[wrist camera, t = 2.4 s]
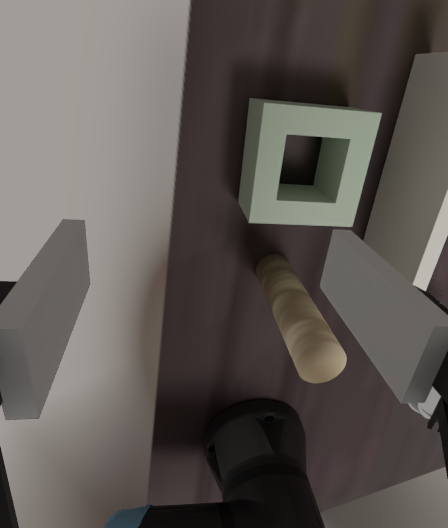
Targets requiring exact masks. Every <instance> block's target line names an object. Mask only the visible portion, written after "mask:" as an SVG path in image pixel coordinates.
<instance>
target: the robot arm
mask: <svg viewBox="0 0 448 528" xmlns="http://www.w3.org/2000/svg"><path fill="white" fill-rule="evenodd" d="M89 285H90V277H89V265H88V254H87V242H86V230H85V221H84V220H65V219H63V220H62V221H61V223H60V224H59V226H58V227H57V228H56V230H55V231H54V232H53V234H52V235H51V237H50V238H49V239H48V241H47V242H46V243H45V245H44V246H43V248H42V249H41V250H40V252H39V253H38V254H37V256H36V257H35V258H34V260H33V261H32V262H31V264H30V265H29V267H28V268H27V269H26V271H25V272H24V273H23V275H22V276H21V277H20V279H19V280H18V282H8V281H0V405H1V404H2V407H3V412H4V415H5V419H6V420H17V419H39V417H40V414H41V411H42V409H43V406H44V404H45V401H46V398H47V396H48V393H49V391H50V388H51V385H52V382H53V380H54V377H55V375H56V372H57V369H58V367H59V364H60V362H61V359H62V356H63V354H64V351H65V349H66V346H67V343H68V341H69V338H70V335H71V332H72V330H73V327H74V325H75V322H76V320H77V317H78V314H79V312H80V309H81V306H82V304H83V301H84V299H85V296H86V293H87V291H88V288H89ZM320 288H321V289H322V291H323V292H324V294H325V295H326V297H327V298H328V299H329V301H330V302H331V304H332V305H333V307H334V308H335V309H336V311H337V312H338V314H339V315H340V317H341V318H342V319H343V321H344V322H345V324H346V325H347V327H348V328H349V329H350V331H351V332H352V334H353V335H354V337H355V338H356V339H357V341H358V342H359V344H360V345H361V347H362V348H363V350H364V351H365V352H366V354H367V355H368V357H369V358H370V360H371V361H372V362H373V364H374V365H375V367H376V368H377V370H378V371H379V372H380V374H381V375H382V377H383V378H384V380H385V381H386V382H387V384H388V385H389V387H390V388H391V390H392V391H393V392H394V394H395V395H396V397H397V398H398V400H399V401H400V402H401V404H402V403H425V401H426V399H427V397H428V395H429V393H430V391H431V389H432V386H433V388H434V389H435V390H436V391H437V392H438V394H439V395H440V396H441V397H440V399H439V401H438V403H437V405H436V407H435V410H434V412H433V414H432V416H431V418H430V420H429V422H428V426H427V428H429V429H432V427H433V425H434V423H436V422H439V429H438V431H437V432H440V435H441V441H442V447H443V453H444V459H445V465H446V471H447V477H448V309H447V308H446V307H445V306H443V305H442V304H439V301H437V300H436V299H435V298H434V297H433V296H432V295H430V294H429V293H427V292H426V291H424V290H422V289H420V288H418V287H416V286H414V285H413V284H411V283H410V282H409V281H408V280H407V279H406V278H405V277H403V276H402V275H401V274H400V273H399V272H398V271H397V270H395V269H394V268H393V267H392V266H391V265H390V264H389V263H387V262H386V261H385V260H384V259H383V258H382V257H381V256H379V255H378V254H377V253H376V252H375V251H374V250H373V249H371V248H370V247H369V246H368V245H367V244H366V243H365V242H363V241H362V240H361V239H360V238H359V237H358V236H357V235H355V234H354V233H353V232H352V231H351V230H333V233H332V237H331V241H330V245H329V250H328V254H327V258H326V262H325V266H324V271H323V275H322V279H321V283H320ZM204 448H205V457H206V460H207V463H208V465H209V467H210V469H211V471H212V474H213V476H214V478H215V480H216V482H217V484H218V487H219V489H220V491H221V493H222V498H223V502H220V503H200V504H183V505H164V506H153V505H146V506H145V507H138V508H130V509H122V510H119V511H117V512H115V513H114V514H113V515H112V516H111V517H110V518H109V519H108V520H107V522H106V524H105V526H104V528H325V526H324V523H323V520H322V518H321V515H320V512H319V509H318V506H317V503H316V500H315V497H314V495H313V492H312V489H311V486H310V483H309V480H308V477H307V474H306V436H305V431H304V428H303V426H302V423H301V420H300V418H299V416H298V414H297V413H296V412H295V411H294V410H293V409H292V408H291V407H289V406H287V405H285V404H283V403H280V402H277V401H271V400H253V401H248V402H243V403H240V404H237V405H234V406H232V407H230V408H228V409H226V410H225V411H223V412H222V413H220V414H219V415H218V416H217V417H215V418H214V419H213V421H212V422H211V423H210V424H209V426H208V428H207V429H206V432H205V435H204ZM0 528H19V526H18V522H17V517H16V514H15V509H14V504H13V500H12V496H11V491H10V487H9V482H8V478H7V474H6V470H5V465H4V460H3V456H2V452H1V447H0Z"/></svg>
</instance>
